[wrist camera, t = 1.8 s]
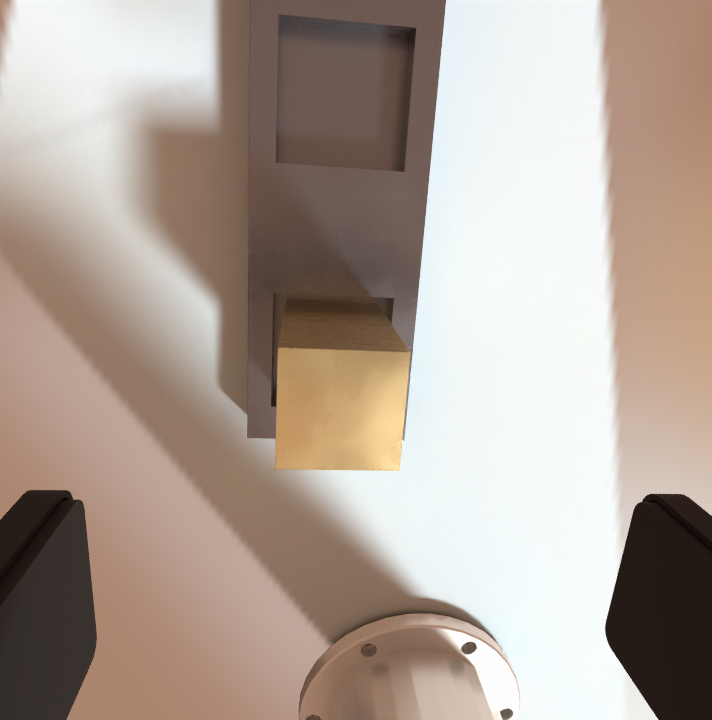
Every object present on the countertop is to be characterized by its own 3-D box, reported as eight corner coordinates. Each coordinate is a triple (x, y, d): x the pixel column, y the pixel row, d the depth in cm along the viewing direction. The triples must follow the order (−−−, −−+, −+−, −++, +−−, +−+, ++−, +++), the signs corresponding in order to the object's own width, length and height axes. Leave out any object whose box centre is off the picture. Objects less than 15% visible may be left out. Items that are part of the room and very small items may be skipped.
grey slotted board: (396, 423, 27) (403, 440, 25) (251, 419, 26) (247, 437, 24) (434, 2, 22) (447, -17, 20) (255, -17, 21) (250, -38, 19)
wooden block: (370, 387, 25) (399, 470, 18) (284, 385, 25) (275, 468, 17) (377, 303, 24) (410, 352, 17) (286, 298, 24) (277, 347, 16)
